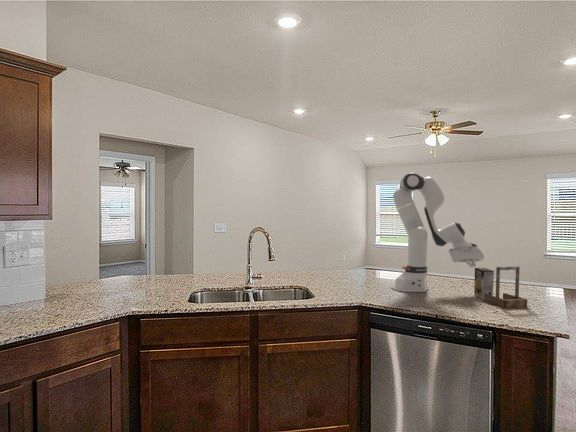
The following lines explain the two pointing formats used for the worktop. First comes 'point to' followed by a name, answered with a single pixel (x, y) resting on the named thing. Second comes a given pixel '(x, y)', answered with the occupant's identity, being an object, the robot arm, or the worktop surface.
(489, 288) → the coffee box
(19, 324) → the worktop surface
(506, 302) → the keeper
